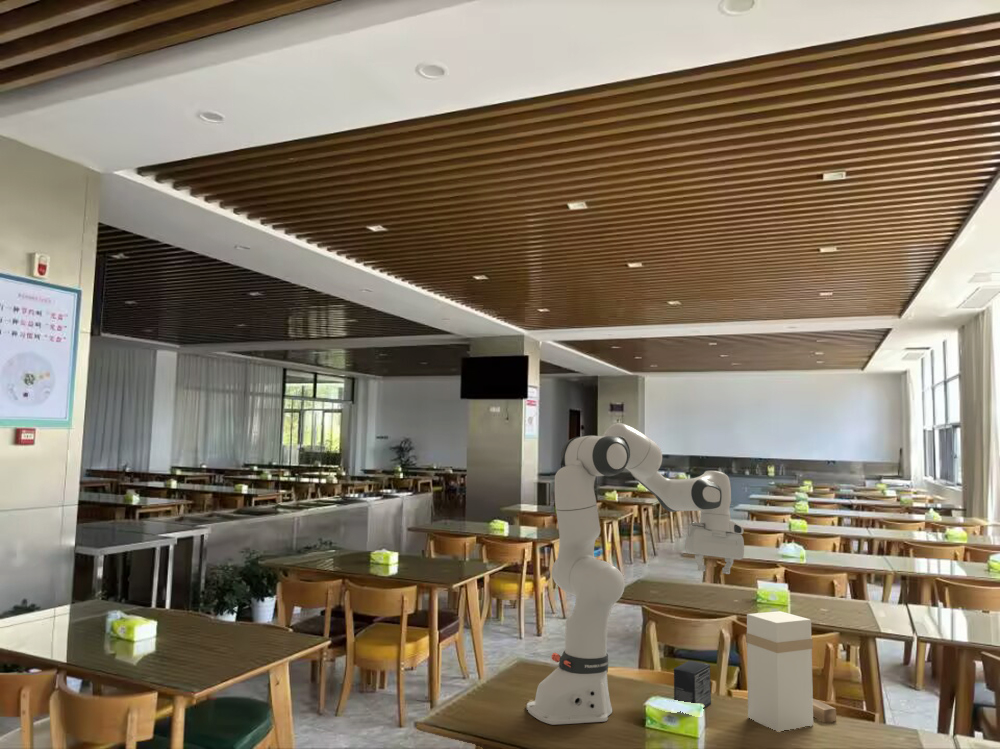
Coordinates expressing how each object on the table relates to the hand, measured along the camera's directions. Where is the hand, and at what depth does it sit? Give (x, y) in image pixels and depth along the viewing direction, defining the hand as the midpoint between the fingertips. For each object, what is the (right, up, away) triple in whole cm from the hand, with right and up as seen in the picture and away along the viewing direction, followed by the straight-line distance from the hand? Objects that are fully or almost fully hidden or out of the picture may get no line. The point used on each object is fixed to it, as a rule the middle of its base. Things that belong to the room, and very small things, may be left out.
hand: (714, 572), depth 205 cm
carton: (+8, -30, -29) cm, 42 cm away
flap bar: (+18, -32, -19) cm, 41 cm away
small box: (-12, -31, -20) cm, 38 cm away
